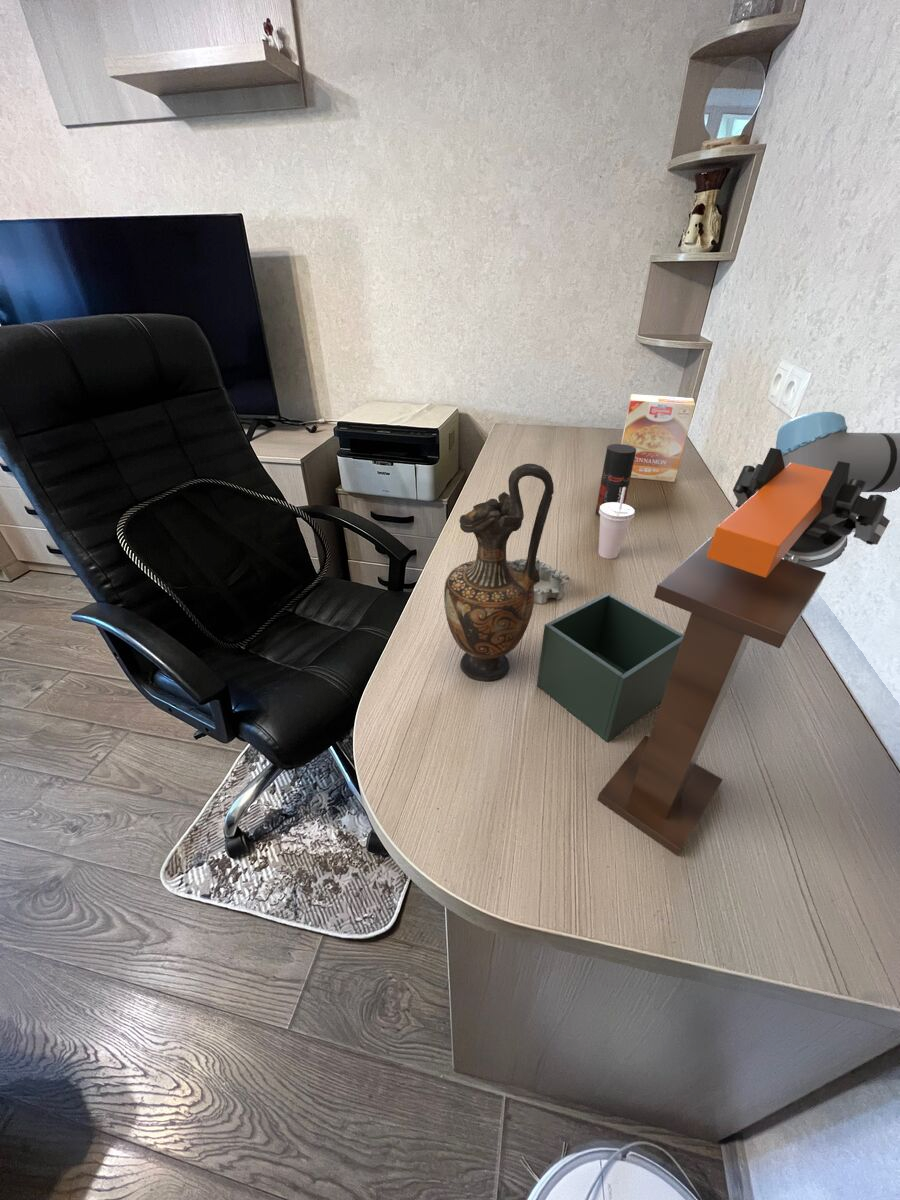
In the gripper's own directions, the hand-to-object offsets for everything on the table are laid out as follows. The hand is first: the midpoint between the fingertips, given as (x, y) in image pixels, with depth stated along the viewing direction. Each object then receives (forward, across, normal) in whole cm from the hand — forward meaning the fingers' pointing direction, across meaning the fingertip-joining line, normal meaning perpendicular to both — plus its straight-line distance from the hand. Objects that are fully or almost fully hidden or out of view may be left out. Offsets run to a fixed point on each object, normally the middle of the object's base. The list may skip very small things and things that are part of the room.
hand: (800, 472), depth 39 cm
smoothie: (-50, +31, -11) cm, 60 cm away
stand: (-12, 0, -33) cm, 35 cm away
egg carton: (-33, +34, -21) cm, 52 cm away
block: (0, 0, -4) cm, 4 cm away
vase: (-14, +27, -32) cm, 44 cm away
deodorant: (-65, +40, -3) cm, 76 cm away
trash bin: (-20, +13, -29) cm, 37 cm away
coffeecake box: (-89, +45, +11) cm, 101 cm away
